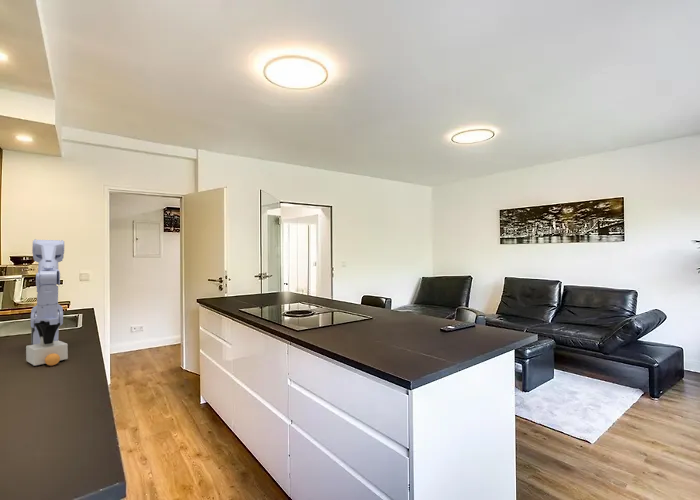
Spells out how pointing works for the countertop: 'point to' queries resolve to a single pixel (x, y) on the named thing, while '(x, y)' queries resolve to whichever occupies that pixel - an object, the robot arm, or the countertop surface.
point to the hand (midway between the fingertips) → (46, 342)
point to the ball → (52, 359)
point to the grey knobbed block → (45, 351)
